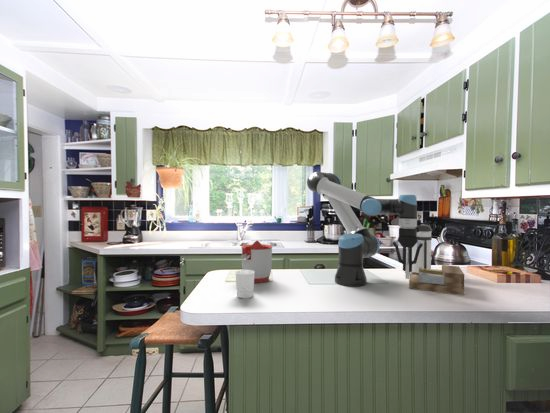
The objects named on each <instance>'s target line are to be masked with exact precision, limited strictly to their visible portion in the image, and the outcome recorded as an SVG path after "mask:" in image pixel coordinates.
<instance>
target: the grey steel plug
mask: <svg viewBox="0 0 550 413" xmlns="http://www.w3.org/2000/svg"><path fill="white" fill-rule="evenodd" d="M418 275H419V282H420V283H422V282H423V283H431V284H440V285H445V276H444V275H436V274H427V273H422V272H419V273H418Z"/></svg>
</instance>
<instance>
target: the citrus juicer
mask: <svg viewBox="0 0 550 413" xmlns="http://www.w3.org/2000/svg"><path fill="white" fill-rule="evenodd" d="M240 259H241V270H253V271H254V272H255V273H254V284H259V283H263V282H264V283H265V282H267V281H268V280H269V279H270V276H271V273H272V272H271V271H272V268H273V246H272V245H270V244H262V243H261V242H260V241H259V240H255V241H254V242H253V243H252V244H245V245H242V246H241V256H240Z"/></svg>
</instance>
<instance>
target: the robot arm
mask: <svg viewBox="0 0 550 413" xmlns="http://www.w3.org/2000/svg"><path fill="white" fill-rule="evenodd" d="M306 185H307V187H308V189H309V190H310V191H311V192H313V193H316V194H318V195H321V196H322V197H323V199H325V200H328V202H329V204H330V205H331V207H332V209H333V210H334V212H335V214H336V216H337V217H338V219H339V221H340V222H341V225H343V227H344V229H345V231H346V233H343V234H342V235H340V236H339V237H338V243H337V245H338V266H337V269H336V273H335V275H334V282H335V283H337V284H338V285H341V286H342V285H343V286H347V287H362V286H365V285H367V280H368V279H367V276H366V273H365V269H364V259H365V258H371V257H373V256H375V255H376V254H377V253H379V250H380V247H381V243H380V240H379V238H378V237H377V236H376V235H375V234H372V233H371V231H370V230H369V229H368V228H367V227H364V226H363V225H362V222H361V221H360V219H359V218H358V217H357V215H356V213H355V212H354V211H353V208H356V209H357V210H360V211H362V212H363V214H365V215H367V216H378V215H379V216H381V215H396V216H397V215H398V227H399V228H398V237H397V240H395V241H392V245H393V246H394V248H395V252H396V253H395V254H396V257H397V261H398V263H400V264H402V271H403V272H405V271H406V273H405V280H409V278H410V273H409V271H412V264H416V262H417V258H418V255H419V251H420V248H421V247H422V246H423V244H422V243H420V242H419V241H418V239H417V229H416V228H415V227H417V224H418V223H417V220H418V219H417V215H418V214H417V213H418V212H417V210H418V208H417V207H418V203H417V202H418V201H417V196H416V194H400V195H398V196H399V197H398V198H375V197H373V196H369V195H367V194H365V193H362V192H360V191H356V190H355V189H352V188H349V187H346V186H345V185H342V180H341V178H340V177H339V176H338V175H336V174H334V173H332V172H324V171H323V172H321V171H315V172H312V173H311V174H310V175H309V176H308V177H307V180H306ZM352 207H353V208H352ZM416 243H417V246H418V247H417V250H416V254H415V257H414V261H412V247H414V245H415V244H416ZM399 244H400V245H401V247H402V256H401V253H400V249H399ZM407 247H408V248H409V264H407Z"/></svg>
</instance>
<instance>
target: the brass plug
mask: <svg viewBox="0 0 550 413" xmlns="http://www.w3.org/2000/svg"><path fill="white" fill-rule="evenodd" d="M419 272H422V273H427V274H436V275H443V271H442V269H433V268H431V269H425V268H421V267H419Z"/></svg>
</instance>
